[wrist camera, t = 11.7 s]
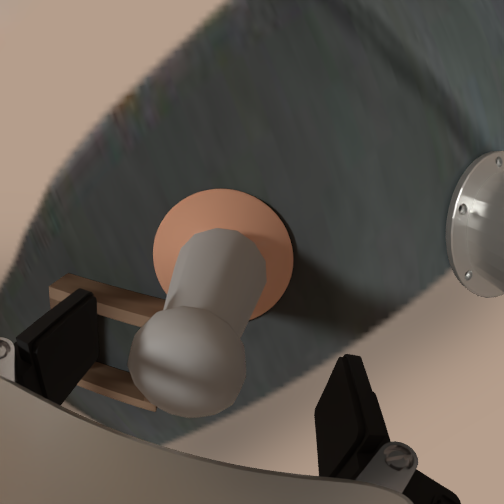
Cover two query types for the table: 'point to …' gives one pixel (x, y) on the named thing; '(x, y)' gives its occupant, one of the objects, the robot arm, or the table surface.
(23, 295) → the table surface
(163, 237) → the orange round disc
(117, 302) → the square wooden frame
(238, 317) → the salt shaker
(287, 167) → the table surface
